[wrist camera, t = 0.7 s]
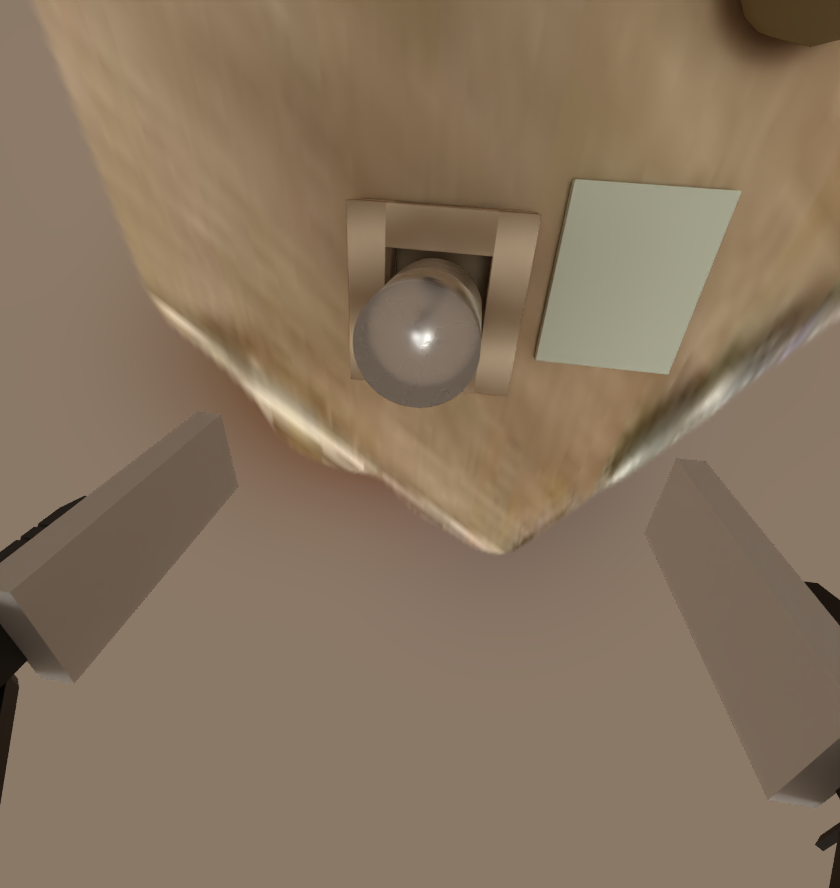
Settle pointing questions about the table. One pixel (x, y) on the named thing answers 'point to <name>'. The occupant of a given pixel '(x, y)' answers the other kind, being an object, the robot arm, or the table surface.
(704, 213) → the mat
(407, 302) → the metal cylinder
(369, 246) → the bore block
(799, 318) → the table surface
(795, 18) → the squeeze bottle
